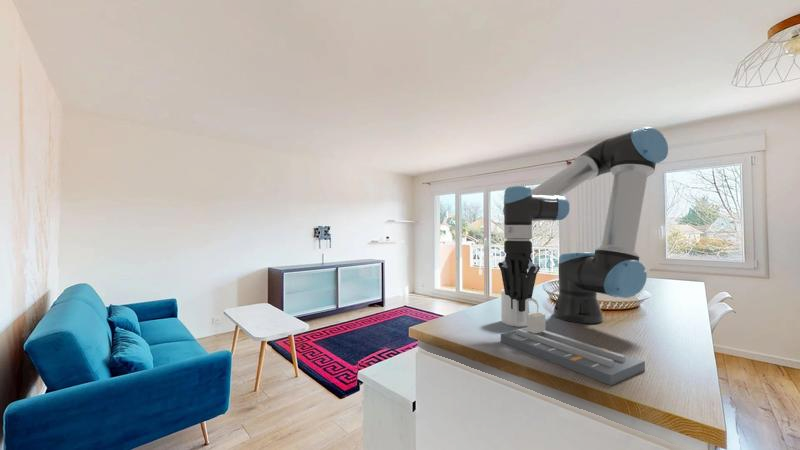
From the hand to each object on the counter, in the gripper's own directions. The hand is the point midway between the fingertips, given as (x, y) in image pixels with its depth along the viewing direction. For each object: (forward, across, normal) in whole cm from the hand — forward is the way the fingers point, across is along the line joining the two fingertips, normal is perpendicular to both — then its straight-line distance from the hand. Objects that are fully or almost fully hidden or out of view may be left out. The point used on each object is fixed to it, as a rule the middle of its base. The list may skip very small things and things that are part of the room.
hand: (518, 321), depth 89 cm
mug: (+5, -9, +12) cm, 16 cm away
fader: (+2, +6, 0) cm, 6 cm away
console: (+4, +14, 0) cm, 15 cm away
